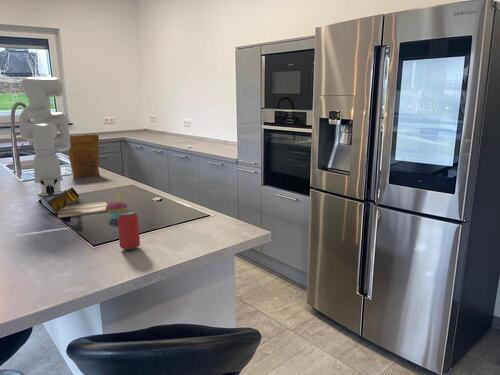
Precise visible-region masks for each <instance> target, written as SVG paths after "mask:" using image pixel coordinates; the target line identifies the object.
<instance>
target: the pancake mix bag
mask: <svg viewBox="0 0 500 375" xmlns="http://www.w3.org/2000/svg"><path fill="white" fill-rule="evenodd" d="M99 145H100V136H99V134H98V135H97V134H85V135H70V149H69V150H67V155H68V159H69V163H70V169H71V172H72V177H73V178H76V177H78V178H91V177H92V176H93V177H97V176H98V175H99V176H100V175H101V174H100V170H99V166H100V165H99V164H100V163H99V156H100V146H99ZM93 177H92V178H93Z"/></svg>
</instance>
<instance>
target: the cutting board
mask: <svg viewBox="0 0 500 375" xmlns="http://www.w3.org/2000/svg"><path fill="white" fill-rule="evenodd" d="M107 205H108V204H107V202H106V201H99V202H90V203H83V204H72V205H67V206H66V207H64V208H63V209H61V210H59V211H58V212H57V218H58V219H60V218H69V217H70V218H71V217H76V216H77V217H78V216H85V215H91V214H92V215H93V214H99V213H100V214H101V213H108V212H107V211H106V206H107Z"/></svg>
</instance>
